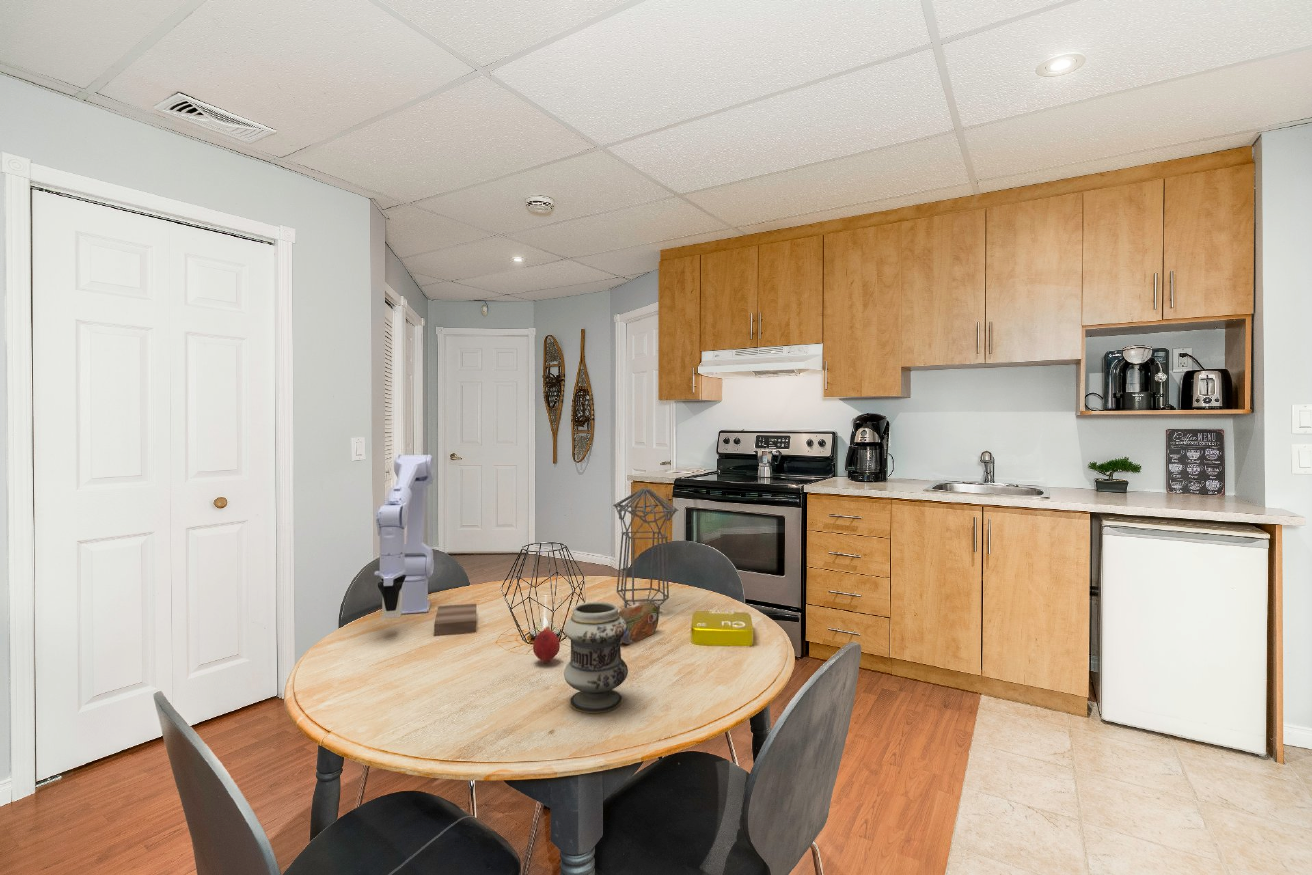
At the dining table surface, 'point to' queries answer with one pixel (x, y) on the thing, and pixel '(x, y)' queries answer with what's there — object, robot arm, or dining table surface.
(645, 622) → the tin
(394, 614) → the block
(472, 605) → the plinth
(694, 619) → the element tile
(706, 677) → the dining table surface
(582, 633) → the apothecary jar
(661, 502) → the geometric lantern
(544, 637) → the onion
